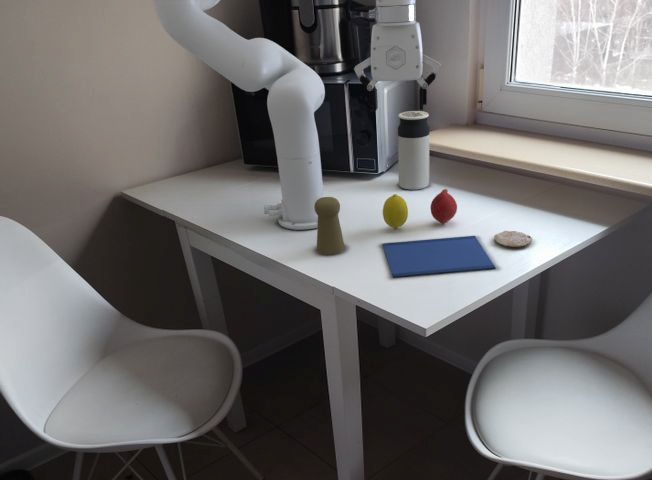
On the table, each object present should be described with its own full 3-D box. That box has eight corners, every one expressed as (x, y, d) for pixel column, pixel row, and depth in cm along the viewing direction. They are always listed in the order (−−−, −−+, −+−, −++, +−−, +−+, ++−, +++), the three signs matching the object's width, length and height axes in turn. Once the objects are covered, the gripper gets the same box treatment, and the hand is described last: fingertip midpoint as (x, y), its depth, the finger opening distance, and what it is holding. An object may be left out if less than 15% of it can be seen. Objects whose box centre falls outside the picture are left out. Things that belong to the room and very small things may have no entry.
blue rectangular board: (392, 278, 118) (392, 276, 118) (382, 244, 131) (382, 243, 131) (495, 268, 119) (495, 267, 119) (474, 237, 133) (474, 235, 133)
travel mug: (409, 192, 159) (408, 119, 149) (393, 184, 165) (391, 113, 155) (435, 186, 162) (435, 114, 152) (418, 178, 168) (417, 109, 158)
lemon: (406, 234, 136) (405, 199, 131) (381, 233, 137) (380, 198, 132) (409, 225, 140) (409, 190, 136) (385, 224, 141) (384, 189, 137)
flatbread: (538, 244, 128) (539, 240, 127) (506, 251, 126) (507, 246, 125) (517, 231, 134) (518, 226, 134) (486, 237, 132) (487, 232, 131)
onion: (439, 230, 137) (440, 195, 132) (425, 222, 141) (425, 188, 137) (461, 225, 139) (462, 190, 135) (447, 217, 143) (447, 183, 139)
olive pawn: (322, 257, 127) (317, 205, 121) (312, 247, 132) (307, 196, 126) (349, 251, 129) (345, 200, 123) (339, 241, 134) (335, 191, 128)
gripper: (348, 19, 117) (354, 114, 126) (440, 15, 114) (439, 112, 124) (354, 15, 123) (359, 106, 132) (441, 11, 121) (440, 104, 130)
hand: (398, 109), depth 128 cm, fingers open, 9 cm apart
